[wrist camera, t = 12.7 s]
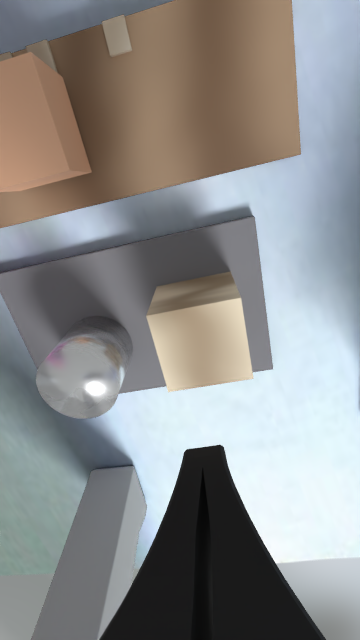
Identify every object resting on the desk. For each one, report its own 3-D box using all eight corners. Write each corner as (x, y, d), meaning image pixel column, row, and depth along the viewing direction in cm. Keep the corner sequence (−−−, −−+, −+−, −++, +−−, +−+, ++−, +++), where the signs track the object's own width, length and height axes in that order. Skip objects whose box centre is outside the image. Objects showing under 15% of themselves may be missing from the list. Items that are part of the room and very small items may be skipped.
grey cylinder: (122, 309, 19) (102, 344, 15) (140, 368, 21) (127, 412, 17) (57, 322, 20) (22, 358, 16) (80, 378, 22) (54, 423, 18)
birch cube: (230, 271, 18) (240, 297, 14) (241, 337, 20) (253, 378, 16) (156, 286, 19) (146, 315, 15) (173, 349, 20) (168, 392, 16)
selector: (62, 77, 14) (30, 51, 11) (91, 172, 16) (69, 170, 13) (-17, 101, 15) (-65, 82, 12) (19, 191, 16) (-16, 192, 13)
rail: (283, -23, 13) (290, -41, 12) (294, 155, 16) (302, 153, 15) (-95, 98, 16) (-116, 92, 15) (-29, 235, 19) (-43, 238, 17)
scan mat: (252, 215, 17) (254, 216, 17) (270, 364, 21) (273, 368, 21) (-2, 272, 19) (-8, 275, 19) (57, 398, 23) (54, 404, 23)
